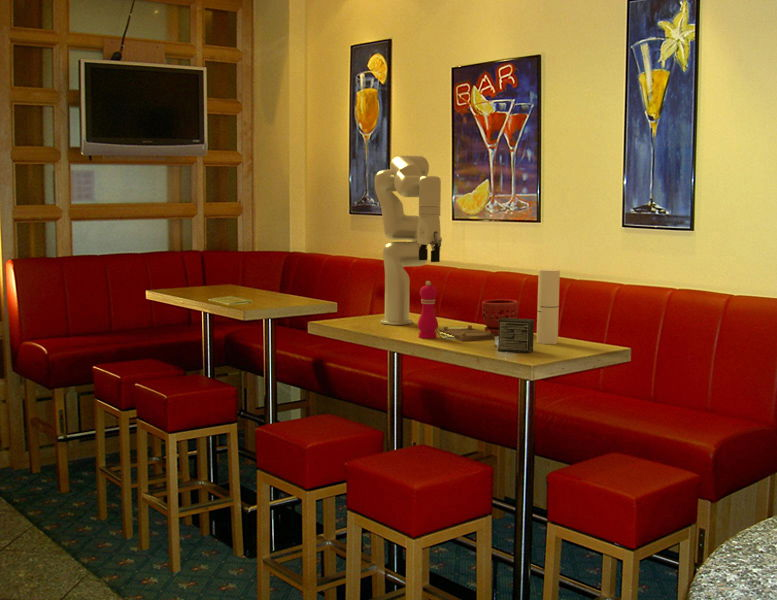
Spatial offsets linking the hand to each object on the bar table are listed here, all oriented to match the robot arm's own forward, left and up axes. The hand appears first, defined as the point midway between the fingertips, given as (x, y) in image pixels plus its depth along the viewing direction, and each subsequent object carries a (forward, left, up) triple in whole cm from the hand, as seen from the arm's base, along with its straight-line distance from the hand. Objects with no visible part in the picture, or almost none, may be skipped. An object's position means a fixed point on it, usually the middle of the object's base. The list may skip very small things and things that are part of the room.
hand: (429, 261), depth 327 cm
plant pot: (0, +29, -27) cm, 40 cm away
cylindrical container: (+24, +34, -27) cm, 50 cm away
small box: (+35, +15, -27) cm, 47 cm away
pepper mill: (0, 0, -27) cm, 27 cm away
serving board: (+3, +14, -27) cm, 30 cm away
